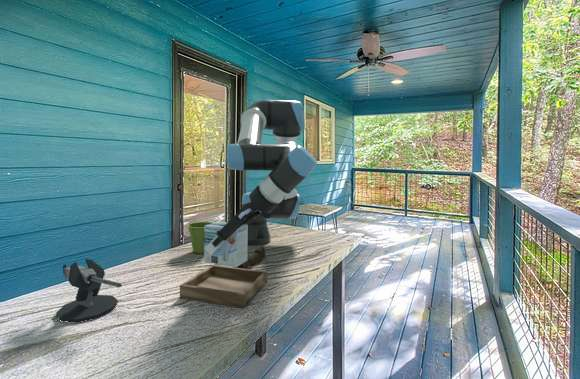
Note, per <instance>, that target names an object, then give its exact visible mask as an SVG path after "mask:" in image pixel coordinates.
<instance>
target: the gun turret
mask: <svg viewBox="0 0 580 379" xmlns="http://www.w3.org/2000/svg"><path fill="white" fill-rule="evenodd" d="M85 263H86V265H87V267H85V266H82V265H78V264H77V262H76V261H75V262H73V263H72V264H70V266H67V264H63V265H62V269H63V270H62V272H63V275H64V279H68V280H67V281H68V283H69V284H70V285H71V287H75V288H78V290H77V292H76V295H75V300H72V301H71V302H67V303H66V304H64V305H62V307H61V308H59V309H58V310H57V311H56V312H55V314H56V315H57V316H58V317H59V319H60V320H61V321H68V322H80V323H82V322H81V321H85V320H89V321H91V320H90V319H94V320H96V319H95V318H98V319H99V317H100V318H102V317H103V316H106V315H108V314H109V312H110V313H112V312H113V311H114V310H115V309H116V307H117V306H116V305H118V304H119V300H118V299H117V298H116V296H114V295H109V294H99V292H100V289H101V287H102V284H103V285H106V286H107V285H108V286H112V287H116V288H121V287H123V284H122V283H121V282H118V281H113V280H109V279H106V278H105V279H104V277H105V275H106V273H105V272H106V271H105V269H104V268H103V267H102V266H100V265H99V264H98V263H97V262H95V261H94V260H93V259H89V258H85ZM117 303H118V304H117ZM115 306H116V307H115ZM114 308H115V309H114ZM113 309H114V310H113ZM112 310H113V311H112ZM111 311H112V312H111ZM107 313H108V314H107ZM105 314H106V315H105ZM57 316H56V317H57ZM101 316H102V317H101ZM59 319H58V320H59ZM60 320H59V321H60ZM85 322H86V321H85Z"/></svg>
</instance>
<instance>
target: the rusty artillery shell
mask: <svg viewBox="0 0 580 379" xmlns="http://www.w3.org/2000/svg"><path fill="white" fill-rule="evenodd" d="M265 257H266V249H265V247H263V246H261V247H259V248H256V249H255V250H254V252H253V253H251V254H250V255H247V261H245V262H244V263H242V264H241V265H239V266H238V267H235V268H243V269H249V267H251V266H253V265H255V264H256V263H257V262H262V261H263V260H264V259H265Z"/></svg>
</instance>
